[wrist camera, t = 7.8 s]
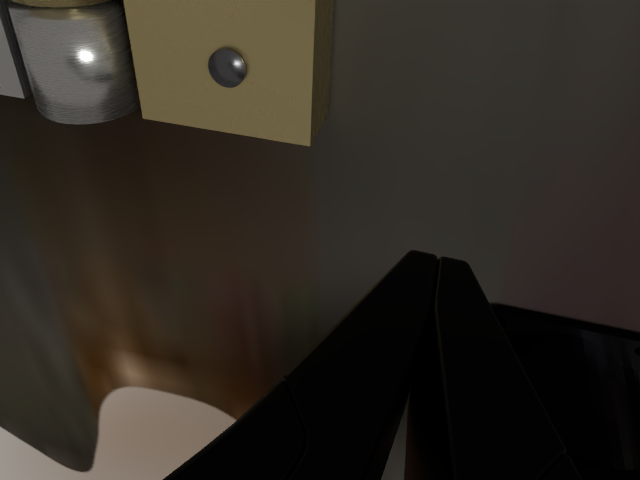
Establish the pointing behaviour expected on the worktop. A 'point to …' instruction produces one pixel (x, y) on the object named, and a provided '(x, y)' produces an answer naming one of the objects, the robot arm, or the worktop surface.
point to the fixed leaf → (69, 60)
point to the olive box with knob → (231, 63)
